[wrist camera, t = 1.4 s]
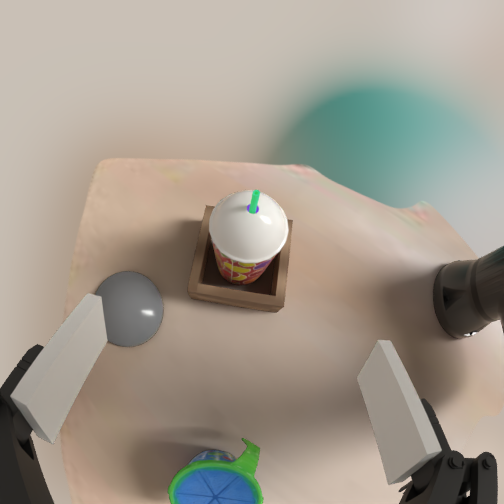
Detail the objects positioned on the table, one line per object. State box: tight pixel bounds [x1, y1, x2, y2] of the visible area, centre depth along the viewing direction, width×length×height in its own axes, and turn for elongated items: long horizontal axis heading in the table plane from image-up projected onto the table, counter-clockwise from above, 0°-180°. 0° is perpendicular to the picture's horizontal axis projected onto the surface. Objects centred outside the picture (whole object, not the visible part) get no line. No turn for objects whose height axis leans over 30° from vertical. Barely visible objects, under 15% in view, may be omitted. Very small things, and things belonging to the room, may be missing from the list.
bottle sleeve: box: [187, 205, 293, 312], centre depth 41 cm, size 12×12×5 cm
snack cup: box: [168, 438, 263, 504], centre depth 27 cm, size 16×10×10 cm
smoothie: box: [209, 190, 289, 285], centre depth 34 cm, size 8×8×20 cm
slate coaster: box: [95, 271, 164, 347], centre depth 38 cm, size 11×11×1 cm
